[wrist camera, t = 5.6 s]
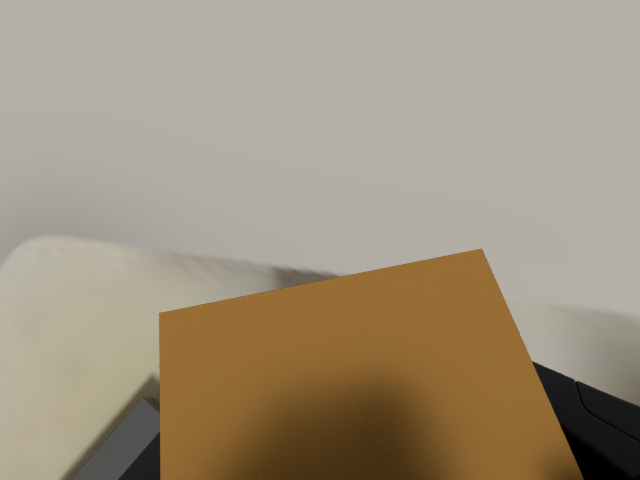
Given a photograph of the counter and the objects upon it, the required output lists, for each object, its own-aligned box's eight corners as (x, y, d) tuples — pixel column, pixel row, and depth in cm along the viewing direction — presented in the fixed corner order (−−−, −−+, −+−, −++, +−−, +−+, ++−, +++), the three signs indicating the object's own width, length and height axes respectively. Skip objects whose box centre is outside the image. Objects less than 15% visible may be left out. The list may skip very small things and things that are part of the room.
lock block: (410, 458, 14) (629, 582, 4) (283, 489, 13) (162, 713, 3) (382, 350, 16) (480, 246, 6) (268, 375, 15) (159, 309, 5)
